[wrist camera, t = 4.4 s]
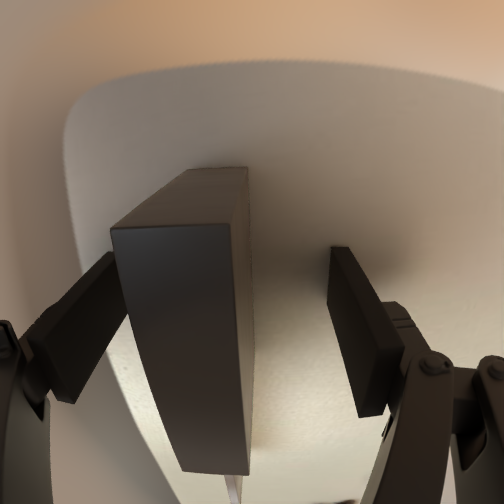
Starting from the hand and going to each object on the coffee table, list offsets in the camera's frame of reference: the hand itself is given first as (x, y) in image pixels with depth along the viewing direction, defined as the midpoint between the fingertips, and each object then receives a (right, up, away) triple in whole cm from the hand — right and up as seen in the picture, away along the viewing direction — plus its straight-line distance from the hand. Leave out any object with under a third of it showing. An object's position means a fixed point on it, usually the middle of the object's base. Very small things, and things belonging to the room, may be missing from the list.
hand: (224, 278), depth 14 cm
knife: (0, -4, +2) cm, 4 cm away
